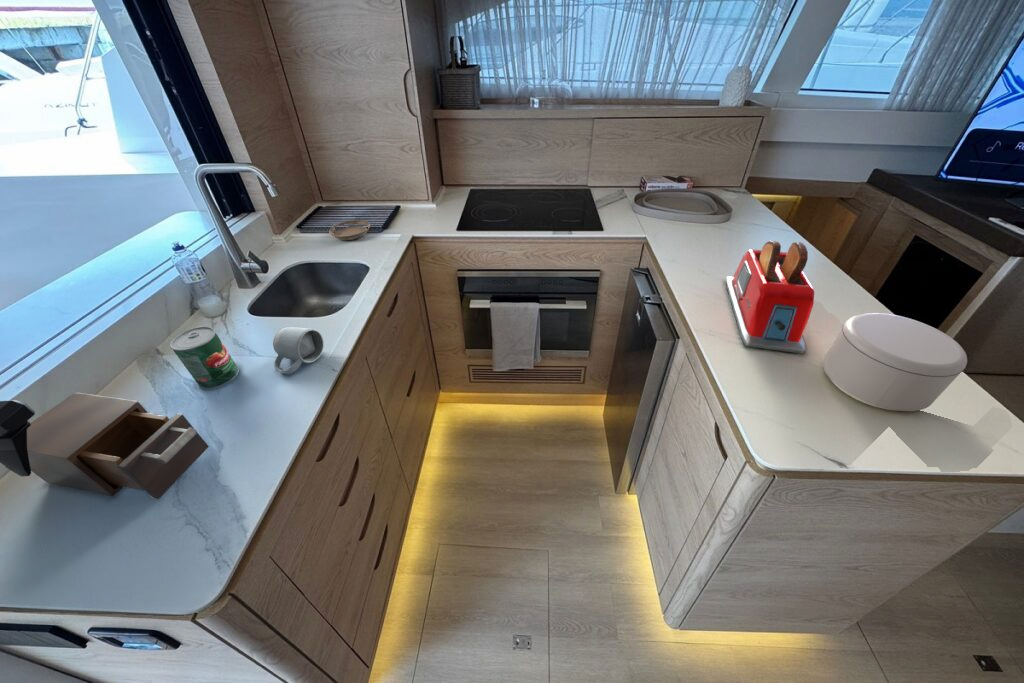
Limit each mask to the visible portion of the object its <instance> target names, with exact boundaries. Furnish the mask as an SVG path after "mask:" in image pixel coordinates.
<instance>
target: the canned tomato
mask: <svg viewBox="0 0 1024 683" xmlns="http://www.w3.org/2000/svg"><path fill="white" fill-rule="evenodd" d="M169 347H170V349H171V350H172V351H173V352H174V354H175V355H176V356H177V358H178V359H179V360H180V362H181V363H182V364H183V366H184V367H185V369H186V370H187V372H188V373H189V374H190V375H191V377H192V378H193V380H194V381H195V382H196V383H197V385H198V387H199V388H201V389H202V390H214V389H218V388H221V387H223V386H226V385H228V384H229V383H231V382H233V380H235V378H237V376H238V374H239V372H240V369H239V366H237V364H236V362H235V361H234V359H233V358H232V355H231V354H230V353H229V351H228V349H227V348H226V347H225V345H224V343H223V342H222V340H221V339H220V337H219V335H218V334H217V332H216V330H215V328H213V327H211V326H197V327H193V328H190V329H187V330H185V331H183V332H181V333H179V334H178V335H176V336H175V337H173V339H172V340H171V341H170V344H169Z"/></svg>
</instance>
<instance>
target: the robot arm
mask: <svg viewBox="0 0 1024 683" xmlns="http://www.w3.org/2000/svg"><path fill="white" fill-rule="evenodd" d="M35 412H36V411H35V410H34V409H32V408H31V406H29V405H28V404H27V403H26V402H23V401H20V400H15V399H13V400H12V399H11V400H0V464H2V465H3V466H4V467H5V468H6V469H8V470H9V471H11V472H12V473H14V474H16V475H17V476H20V477H29V476H31V475H32V471H31V468H30V462H29V457H28V450H27V429H28V427H30V425H31V421H29V420H31V418H33V417H34V416H35V415H36V413H35Z"/></svg>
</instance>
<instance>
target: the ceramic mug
mask: <svg viewBox="0 0 1024 683" xmlns="http://www.w3.org/2000/svg"><path fill="white" fill-rule="evenodd" d="M324 345H325V343H324V338H323V336H322V333H320V332H319V331H318V330H317V329H315V328H306V327H296V326H286V327H282V328H281V329H279V330H278V331H276V333H275V335H274V337H273V341H272V347H273V350H274V352H275V353H276V354H277V356H276V357H275V359H274V362H273V365H274V369H275V370H276V371H277V372H279V373H280V374H282V375H290V374H293V373H294V372H296V371H297V370H298V369H299V368H300V367H301V365H302V363H305V364H311V363H315V362H316V361H317V360H318V359H320V357H321V355H322V353H323V351H324V347H325V346H324ZM283 359H288V360H293V361H294V363H292V365H290V367H288V368H285V369H283V368H282V367H281V364H282V361H283Z"/></svg>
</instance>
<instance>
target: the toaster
mask: <svg viewBox="0 0 1024 683" xmlns="http://www.w3.org/2000/svg"><path fill="white" fill-rule="evenodd" d="M781 248H782V246H781V243H780V242H779V241H776V240H768V241H767V242H765V243H764V244H763V246H762V247H761V250H760V249H748V250H747V251H746V252H745V253H744V254H743V256H742V258H741V259H740V261H739V263H738V266H737V267H736V270H735V272H734V274H733V276H731V275H730V276H727V277H726V278H725V283H726V288H727V293H728V296H729V299H730V303H731V306H732V310H733V313H734V315H735V316H734V317H735V320H736V324H737V328H738V331H739V334H740V337H741V339H742V342H743V344H744V345H745V346H746V347H750V348H755V349H756V348H757V349H763V350H764V349H765V350H770V351H771V350H772V351H779V352H785V353H794V354H804V353H805V352H806V350H807V347H806V343H805V341H804V339H803V337H802V336H803V334H804V332H805V329H806V326H807V324H808V321H809V319H810V316H811V313H812V310H813V308H814V304H815V303H814V302H815V290H814V288H813V285H812V284H811V283H810V281H809V280H808V277H807V276H806V275H805V273H804V270H805V268H806V265H807V263H808V258H809V256H808V255H809V251H808V248H807V245H806V244H804V242H802V241H796V242H792V243H791V244H790V246H789V248H788V249H787V252H786V251H785V252H784V251H781V250H782V249H781Z"/></svg>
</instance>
